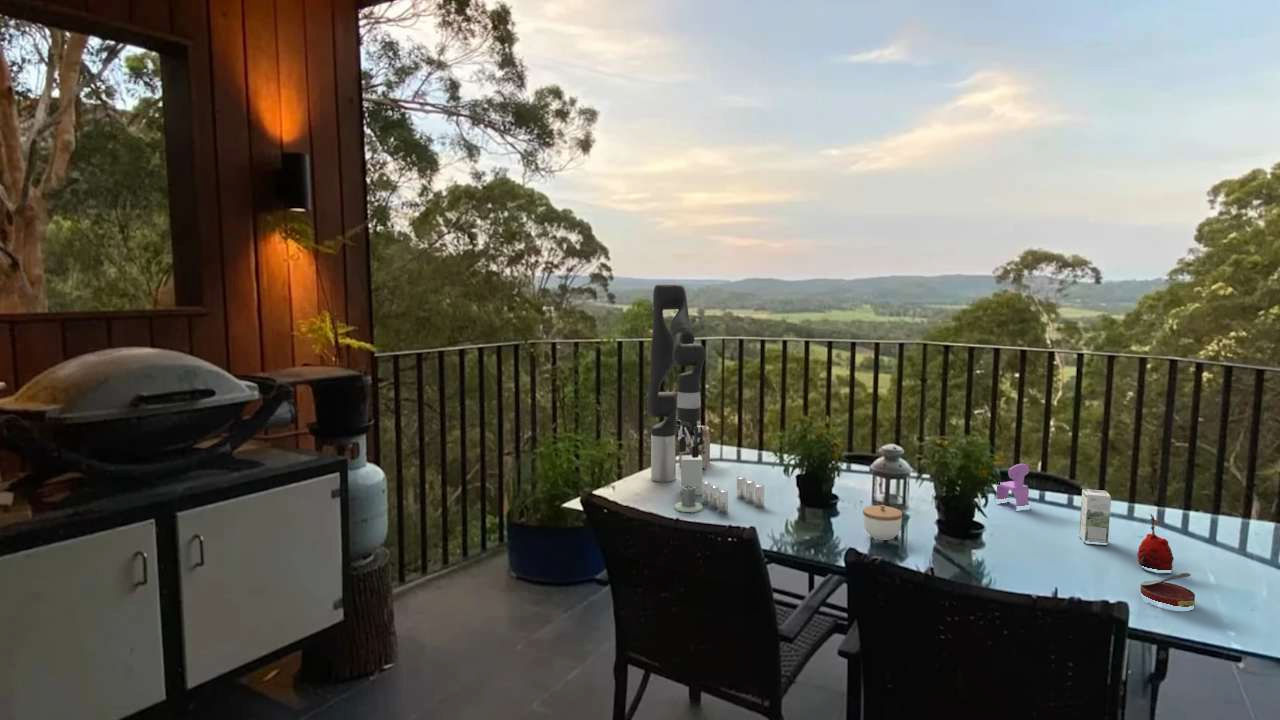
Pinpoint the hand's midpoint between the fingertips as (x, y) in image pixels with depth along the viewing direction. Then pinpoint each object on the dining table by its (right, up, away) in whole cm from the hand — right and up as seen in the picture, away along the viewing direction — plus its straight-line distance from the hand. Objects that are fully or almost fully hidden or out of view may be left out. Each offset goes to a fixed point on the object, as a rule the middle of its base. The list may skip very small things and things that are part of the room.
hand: (688, 454), depth 228 cm
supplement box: (+2, -16, +20) cm, 26 cm away
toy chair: (+106, -17, +1) cm, 108 cm away
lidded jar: (+54, -21, -26) cm, 63 cm away
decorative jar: (+7, -13, +58) cm, 60 cm away
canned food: (+104, -24, -69) cm, 127 cm away
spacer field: (+15, -17, +5) cm, 24 cm away
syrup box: (+111, -21, -31) cm, 118 cm away
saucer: (0, -18, +2) cm, 18 cm away
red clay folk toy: (+114, -23, -51) cm, 127 cm away
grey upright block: (0, -17, +2) cm, 17 cm away
